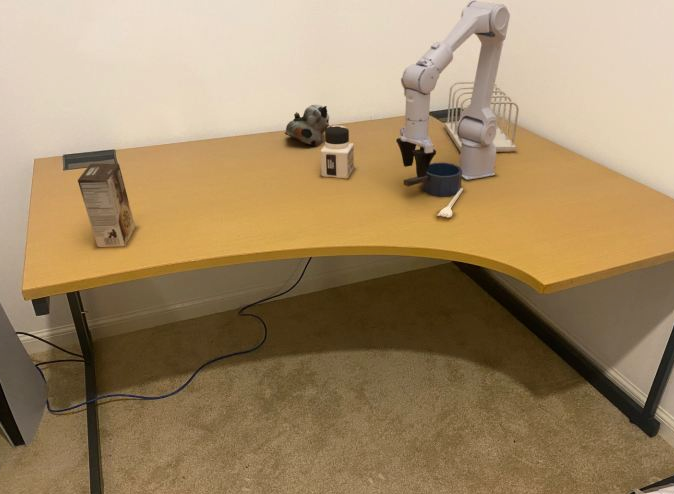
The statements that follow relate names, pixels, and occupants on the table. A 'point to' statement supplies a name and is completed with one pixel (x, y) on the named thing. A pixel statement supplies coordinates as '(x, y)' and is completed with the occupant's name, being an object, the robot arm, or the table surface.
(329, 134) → the container
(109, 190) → the coffee box
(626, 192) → the table surface
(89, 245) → the table surface
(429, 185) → the pot
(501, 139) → the file sorter
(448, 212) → the fork
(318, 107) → the lucky cat figurine
